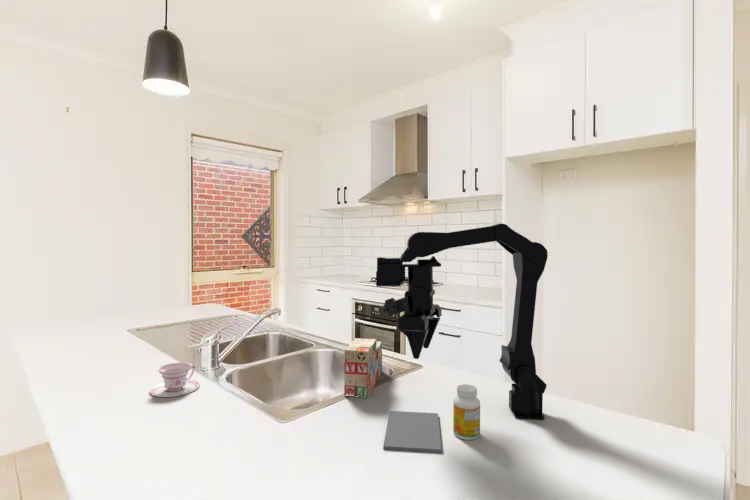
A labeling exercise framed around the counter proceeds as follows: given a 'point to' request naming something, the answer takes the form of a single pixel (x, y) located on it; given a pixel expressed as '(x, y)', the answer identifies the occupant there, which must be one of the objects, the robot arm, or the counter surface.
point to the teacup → (175, 380)
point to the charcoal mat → (413, 432)
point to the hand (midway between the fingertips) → (421, 353)
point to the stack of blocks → (362, 366)
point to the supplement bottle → (466, 413)
